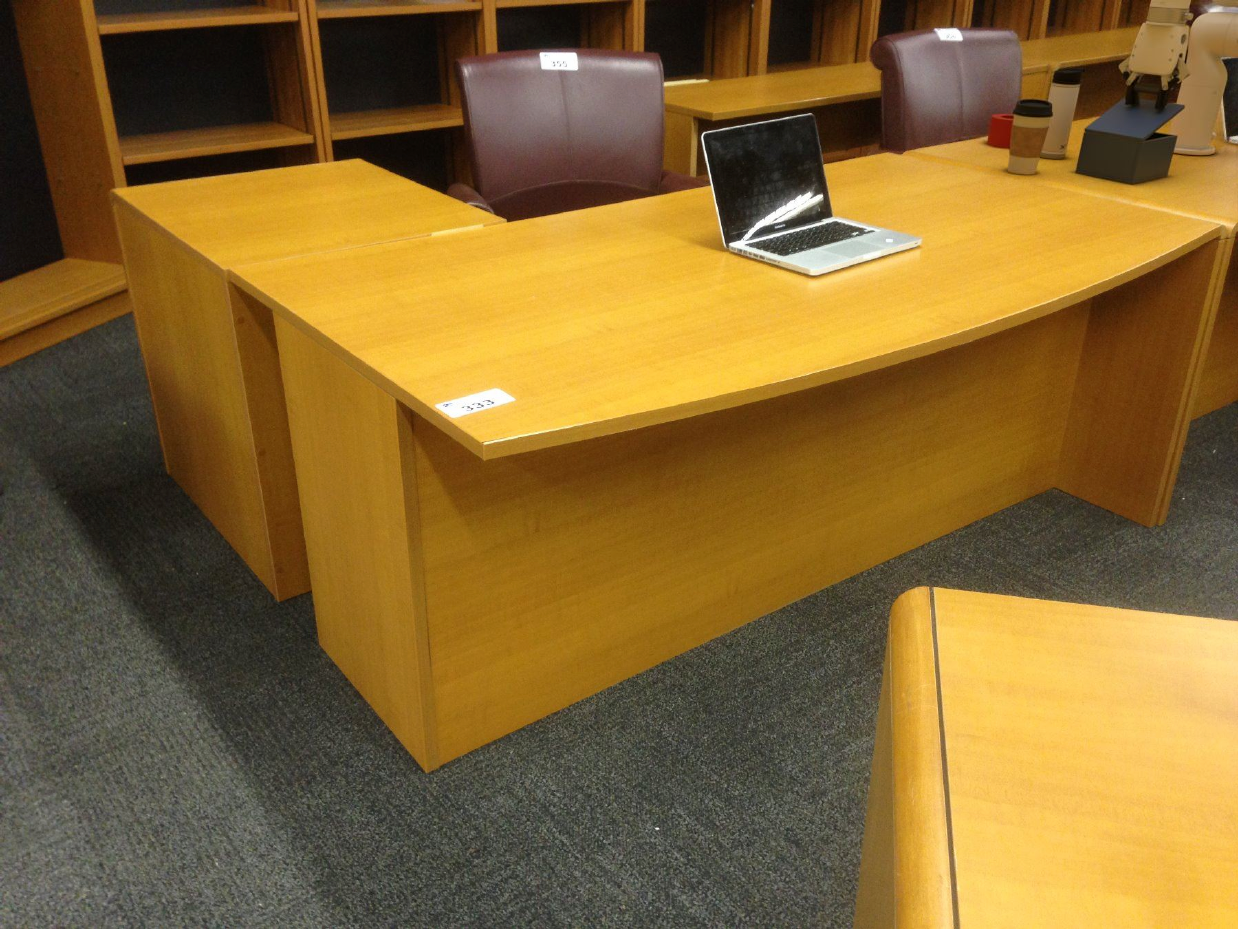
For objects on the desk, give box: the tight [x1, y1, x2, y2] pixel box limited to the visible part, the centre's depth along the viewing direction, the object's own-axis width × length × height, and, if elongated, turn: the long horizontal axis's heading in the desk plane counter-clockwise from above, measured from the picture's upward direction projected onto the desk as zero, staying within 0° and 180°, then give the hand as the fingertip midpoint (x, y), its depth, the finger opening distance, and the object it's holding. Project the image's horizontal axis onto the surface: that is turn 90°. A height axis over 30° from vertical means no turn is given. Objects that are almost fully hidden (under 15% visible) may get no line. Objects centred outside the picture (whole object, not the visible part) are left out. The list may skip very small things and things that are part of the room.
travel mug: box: [1040, 67, 1086, 160], centre depth 246 cm, size 6×7×20 cm
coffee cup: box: [1007, 98, 1053, 176], centre depth 231 cm, size 8×8×15 cm
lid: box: [1083, 82, 1185, 142], centre depth 227 cm, size 15×14×6 cm
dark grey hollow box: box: [1075, 131, 1178, 185], centre depth 232 cm, size 15×14×9 cm
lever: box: [986, 113, 1014, 149], centre depth 259 cm, size 18×9×7 cm, turn 59°
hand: (1144, 105), depth 229 cm, fingers closed on lid, 6 cm apart
